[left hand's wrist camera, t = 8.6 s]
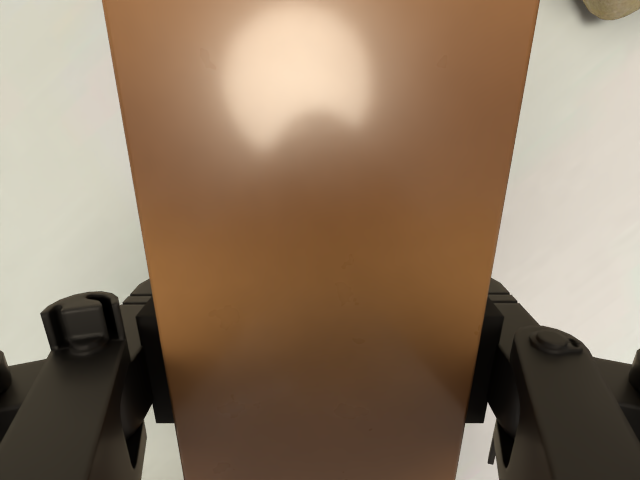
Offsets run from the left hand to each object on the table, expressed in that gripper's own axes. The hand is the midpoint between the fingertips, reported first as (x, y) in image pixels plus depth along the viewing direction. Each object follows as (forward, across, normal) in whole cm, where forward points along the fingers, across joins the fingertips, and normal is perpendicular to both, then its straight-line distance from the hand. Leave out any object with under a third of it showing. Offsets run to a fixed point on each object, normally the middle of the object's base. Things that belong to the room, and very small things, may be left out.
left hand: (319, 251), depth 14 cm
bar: (+1, 0, -13) cm, 13 cm away
